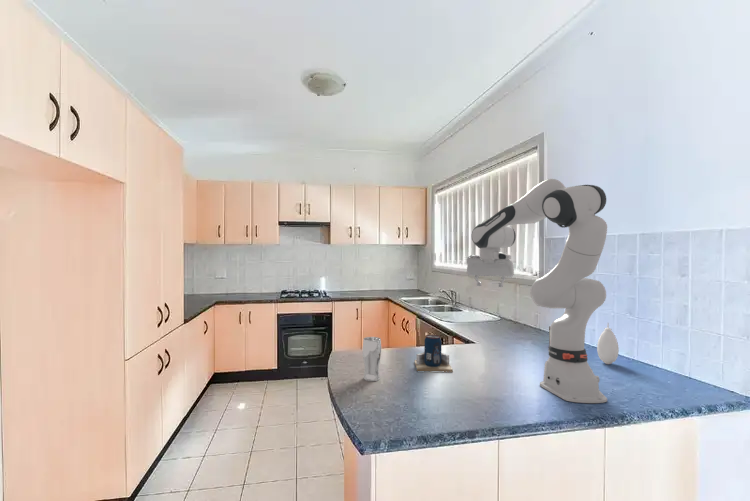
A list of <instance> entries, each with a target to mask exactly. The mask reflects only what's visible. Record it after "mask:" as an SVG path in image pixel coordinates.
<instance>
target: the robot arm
mask: <svg viewBox="0 0 750 501" xmlns="http://www.w3.org/2000/svg"><path fill="white" fill-rule="evenodd" d="M606 204H607V195H606V193H605V191H604V190H603V189H602V188H601V187H600V186H598V185H595V184H594V185H593V184H583V185H581V184H580V185H573V186H568V187H566V186H565V185H564V184H563V182H561V181H560V180H558V179H556V178H547V179H545V180H543V181H542V182H540V183H538V184H537V185H535V186H534V187H532V189H530V190H529V191H528V192H527V193H526V194H525V195H524V196H522V197H521V198H520V199H518V200H516V201H515V202H513V203H511V204H510V205H509V204H508V205H507V206H505V207H503V208H502V209H500V210H499V211H498V212H496V213H495V214H494V215H492V216H491V217H490V218H486V219H483V220H482V221H481V223H477V225H476V226H475V227H474V228H473V230H472V232H471V240H472V243H473V244H474V245H475V246H476V247H477V248H479V255H477V254H476V255H474V254H473V255H472V254H471V255H470V256H467V258H466V264H467V267H466V274H467V275H468V276H473V277H474V279H475V281H476V287H481V286H482V281H480V280H479V277H501V278H500V279H501V281H500V282H498V288H503V286H504V284H503V283H504V282H505V281H506V277H507V278H512V277H513V276H515V271H514V270H515V269H514V264H513V261H512V260H511V259H512V255H511V254H509V253H505V252H503V251H501V249H503V248H511V247H512V246H513V245H514V244H515V242H516V238H517V236H516V231H515V229H514V228H513V226H514V225H529V224H535V223H538V222H541V221H543V220H544V219H545V218H547V219H548V220H549V221H551V222H552V223H554V224H556V225H557V226H558V227H559V228H564V229H565V228H568V236H567V237H566V238H567V239H566V241H565V244H564V248H563V250H562V253H561V256H560V258H559V260H558V262H557V264H556V265H555V266H554V267H553V268H552V269H551V270H550V271H549V272H547V273H546V274H545V275H543V276H542V277H540V278H537V279H536V280H535V281H534V282H533V283H532V285H531V287H530V298H531V300H532V302H533V303H534V304H535V305H536V306H538V307H542V308H545V309H546V308H547V309H565V310H564V312H563V314H562V315H561V316H560V317H559V318H557V319H554V320H553V321H552V322H551V324H550V326H551V327H550V345H549V344H548V350H547V351H548V356H549V357H548V359H547V360H546V361H545V363H544V369H543V380H542V381H541V382H539V386H540V387H542V388H543V389H545V390H546V391H548V392H550V393H552V394H553V395H555V396H556V397H559V398H560V399H562V400H563V401H567V402H571V403H579V404H580V403H582V404H604V403H606V402H608V397H606V395H604V394H603V392H602V391H600V389H599V388H600V386H599V383H600V376H599V375H595V373H594V371H593V369H592V368H591V366H590V365H589V364H590V363H588V354H587V349H586V348H585V341H586V339H585V338H586V328H587V324H588V322H589V320H590V318H591V316H592V315H593V313H594V312H595V311H596V310H597V309H598V308H600V307H601V306H603V304H605V301H606V299H607V290H606V287H605V286H604V284H603V283H602V282H601V281H599V280H596V279H594V278H593V279H592V278H588V277H590V275H592V274H593V273H594V272H595V271H596V269H597V265H598V263H599V260H600V259H601V255H602V252H603V249H604V247H605V243H606V240H607V239H606V238H607V234H608V224H607V222H606V220H604V218H602V217H601V216H598V215H597V214H598V213H601V211H602V210H603V209H605V206H606Z"/></svg>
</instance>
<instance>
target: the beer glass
mask: <svg viewBox="0 0 750 501" xmlns="http://www.w3.org/2000/svg"><path fill="white" fill-rule="evenodd" d="M362 340H363V341H362V357H363V364H364V372H363V380H364V381H367V382H377V381H380V379H381V378H380V377H381V376H380V363H381V357H382V340H381V337H378V336H366V337H364V338H363V339H362Z"/></svg>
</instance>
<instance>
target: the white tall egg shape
mask: <svg viewBox="0 0 750 501" xmlns="http://www.w3.org/2000/svg"><path fill="white" fill-rule="evenodd" d="M609 326H610V325H609V322H607V327H605V328H604V330H603V331H602V332H601V333H600V335H599V338H598V340H597V344H596V345H597V346H596V350H597V356H598V357H599V359H600V361H602V363H605V365H611V364H613V363H615V362H616V361H617V359H618V356H619V351H620V350H619V349H620V347H619V344H618V340H617V338H616V335H615V333H614V332H613V330H612V328H610V327H609Z"/></svg>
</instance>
